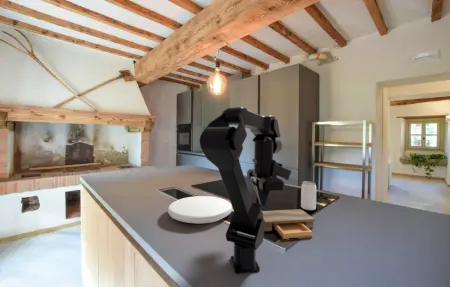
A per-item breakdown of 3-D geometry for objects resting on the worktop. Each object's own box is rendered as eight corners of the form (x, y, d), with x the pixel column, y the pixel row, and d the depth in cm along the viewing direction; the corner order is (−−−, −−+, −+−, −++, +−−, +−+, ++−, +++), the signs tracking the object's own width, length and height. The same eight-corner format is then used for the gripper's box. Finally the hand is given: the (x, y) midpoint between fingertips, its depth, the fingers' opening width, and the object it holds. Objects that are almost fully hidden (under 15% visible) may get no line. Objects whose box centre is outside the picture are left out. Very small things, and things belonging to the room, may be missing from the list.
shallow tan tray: (312, 237, 69) (312, 231, 69) (283, 239, 67) (284, 233, 67) (291, 220, 82) (291, 215, 82) (268, 221, 81) (268, 216, 81)
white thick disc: (184, 192, 104) (236, 196, 99) (184, 205, 104) (236, 209, 99) (155, 205, 77) (224, 211, 72) (154, 222, 77) (224, 230, 71)
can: (306, 211, 92) (307, 184, 91) (298, 206, 98) (298, 181, 98) (319, 209, 94) (319, 183, 93) (309, 205, 100) (310, 180, 99)
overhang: (314, 227, 76) (314, 218, 76) (262, 231, 73) (262, 222, 72) (300, 216, 86) (300, 209, 85) (254, 219, 82) (254, 211, 82)
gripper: (303, 159, 56) (301, 216, 56) (276, 153, 74) (276, 196, 75) (263, 159, 54) (262, 218, 55) (246, 153, 73) (246, 197, 73)
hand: (262, 205), depth 65 cm, fingers closed
